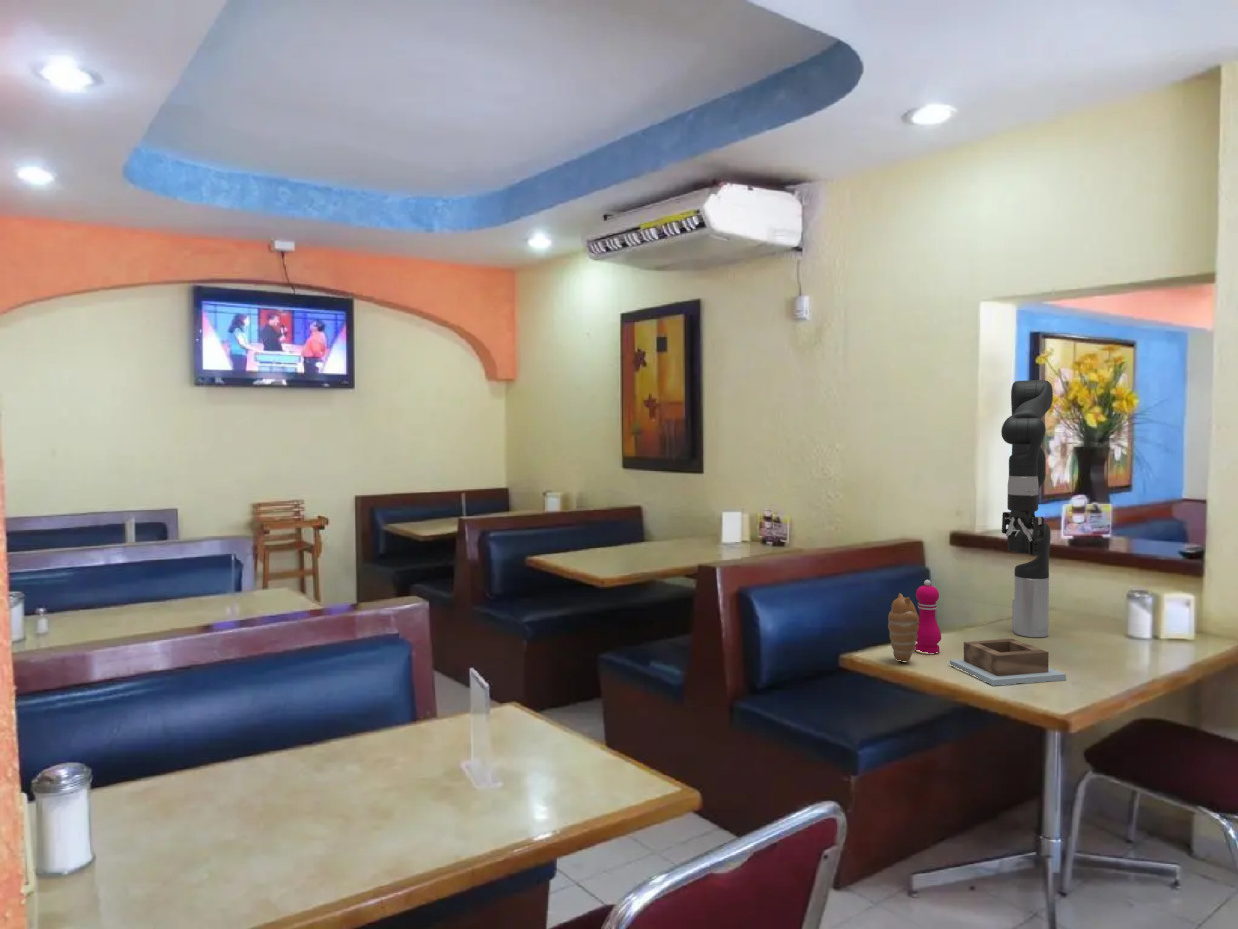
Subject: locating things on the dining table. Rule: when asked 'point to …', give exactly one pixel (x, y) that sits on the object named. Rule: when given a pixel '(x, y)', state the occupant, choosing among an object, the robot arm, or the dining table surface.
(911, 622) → the cat ice cream
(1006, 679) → the peg board
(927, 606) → the pepper mill
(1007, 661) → the frame
